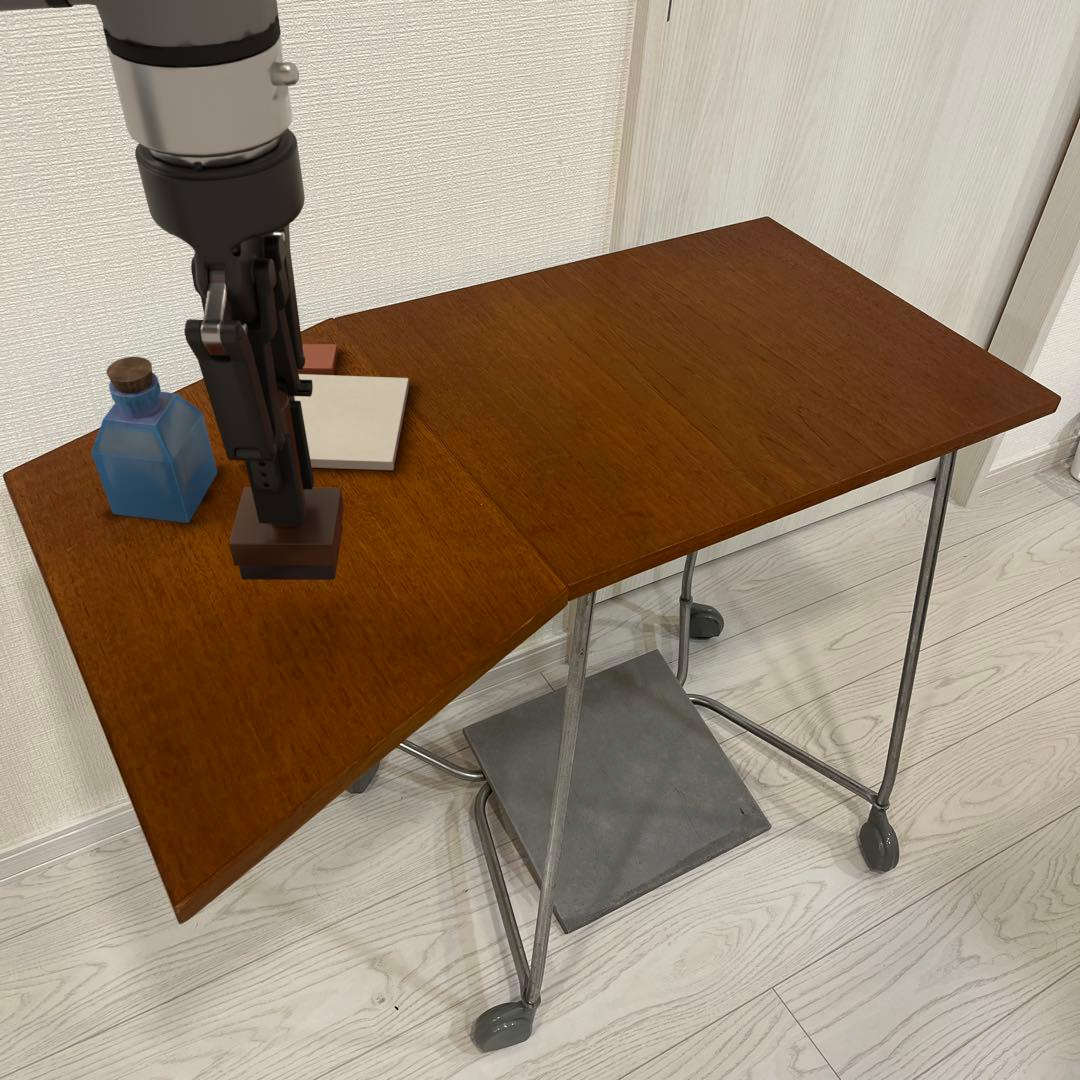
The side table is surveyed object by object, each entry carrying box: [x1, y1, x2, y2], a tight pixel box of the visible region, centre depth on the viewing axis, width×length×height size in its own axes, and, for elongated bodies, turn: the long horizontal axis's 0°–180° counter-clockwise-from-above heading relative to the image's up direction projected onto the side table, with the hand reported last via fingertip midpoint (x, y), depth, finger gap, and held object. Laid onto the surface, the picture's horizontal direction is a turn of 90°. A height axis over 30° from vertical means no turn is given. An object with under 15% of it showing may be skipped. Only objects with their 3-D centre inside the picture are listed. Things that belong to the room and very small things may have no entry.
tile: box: [294, 374, 410, 471], centre depth 88 cm, size 12×12×1 cm
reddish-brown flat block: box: [298, 343, 339, 375], centre depth 95 cm, size 4×4×1 cm
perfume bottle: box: [91, 356, 219, 524], centre depth 78 cm, size 6×6×12 cm
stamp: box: [228, 389, 345, 581], centre depth 63 cm, size 6×5×12 cm
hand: (287, 501), depth 64 cm, fingers closed on stamp, 3 cm apart
